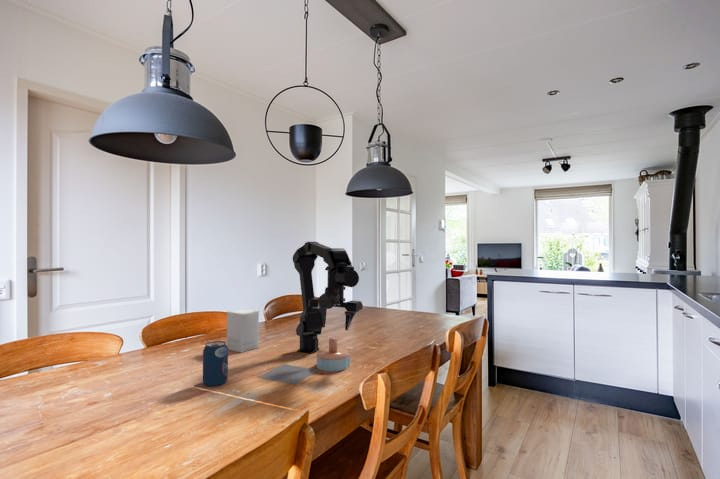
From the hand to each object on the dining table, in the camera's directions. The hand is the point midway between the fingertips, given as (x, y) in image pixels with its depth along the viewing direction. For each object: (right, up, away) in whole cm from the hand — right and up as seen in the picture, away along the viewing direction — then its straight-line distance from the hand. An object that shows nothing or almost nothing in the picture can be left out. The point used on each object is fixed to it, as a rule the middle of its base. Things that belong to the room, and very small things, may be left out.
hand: (334, 328), depth 130 cm
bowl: (0, -12, -3) cm, 13 cm away
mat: (-14, -12, -11) cm, 22 cm away
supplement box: (-38, -13, +18) cm, 44 cm away
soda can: (-34, -12, -20) cm, 41 cm away
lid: (0, -8, -3) cm, 9 cm away
